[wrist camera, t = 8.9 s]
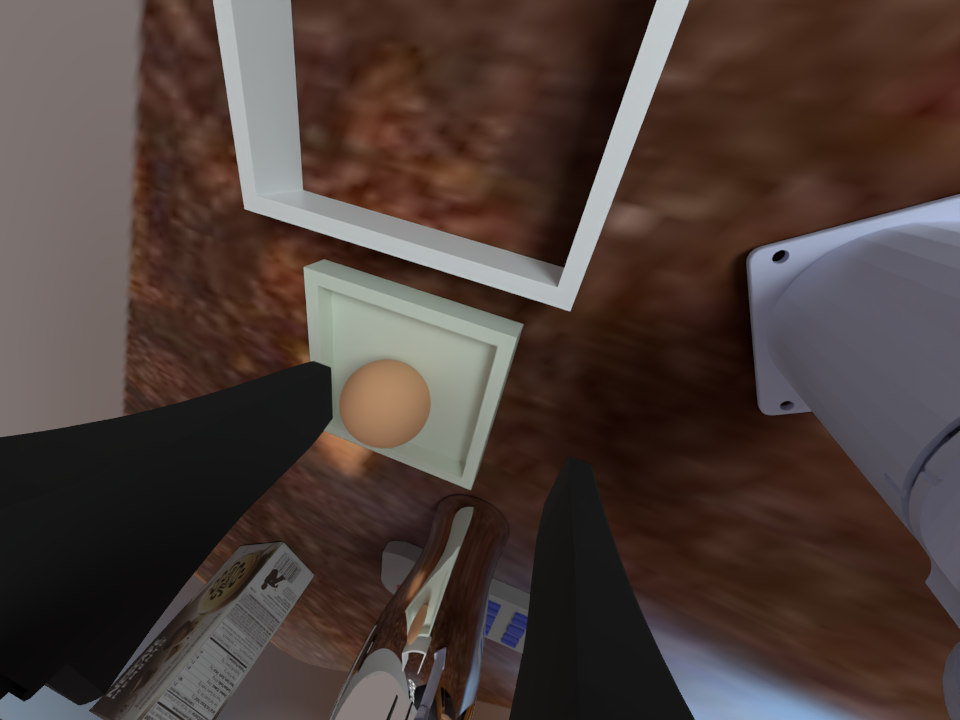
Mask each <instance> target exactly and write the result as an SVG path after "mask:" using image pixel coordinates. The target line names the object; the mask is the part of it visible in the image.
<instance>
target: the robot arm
mask: <svg viewBox="0 0 960 720" xmlns="http://www.w3.org/2000/svg"><path fill="white" fill-rule="evenodd" d="M780 250H784V251H785V255H784V257H783V258H782V259H781V260H778V261H773V260H772V257H773V255H774V254H775V253H776V252H778V251H780ZM746 268H747V280H748V293H749V305H750V318H751V330H752V342H753V355H754V367H755V379H756V392H757V404H758V407H759V409H760V410H761V412H763V413H764V414H766V415H782V414H792V413H802V412H813V413H814V415H815V416H816V417H817V418H818V419H819V421H820V422H821V423H822V424H823V426H824V427H825V428H826V429H827V430H828V432H829V433H830V434H831V435H832V437H833V438H834V439H835V440H836V441H837V443H838V444H839V445H840V446H841V448H842V449H843V450H844V451H845V453H846V454H847V455H848V456H849V457H850V459H851V460H852V461H853V462H854V464H855V465H856V466H857V467H858V468H859V470H860V471H861V472H862V473H863V475H864V476H865V477H866V478H867V480H868V481H869V482H870V483H871V484H872V486H873V487H874V488H875V489H876V491H877V492H878V493H879V494H880V495H881V497H882V498H883V499H884V500H885V502H886V503H887V504H888V505H889V506H890V508H891V509H892V510H893V511H894V513H895V514H896V515H897V516H898V518H899V519H900V520H901V521H902V522H903V524H904V525H905V526H906V527H907V529H908V530H909V531H910V532H911V533H912V535H913V536H914V537H915V538H916V539H917V540H918V541H919V543H920V544H921V545H922V547H923V548H924V550H925V551H926V553H927V554H928V556H929V557H930V559H931V564H932V568H931V573H930V575H929V577H928V578H927V580H926V584H927V586H928V587H929V588H930V590H931V591H932V592H933V594H934V595H935V596H936V597H937V599H938V600H939V601H940V603H941V604H942V605H943V607H944V608H945V609H946V611H947V612H948V613H949V615H950V616H951V617H952V619H953V620H954V621H955V623H956V624H957V625H958V627H959V628H960V194H958V195H954V196H950V197H946V198H942V199H939V200H935V201H931V202H927V203H924V204H920V205H916V206H912V207H908V208H905V209H901V210H897V211H893V212H889V213H886V214H882V215H878V216H874V217H870V218H867V219H863V220H859V221H855V222H852V223H848V224H844V225H840V226H836V227H833V228H829V229H825V230H821V231H817V232H814V233H810V234H806V235H802V236H798V237H795V238H791V239H787V240H783V241H780V242H776V243H772V244H768V245H764V246H761V247H758V248H756V249H754V250H753V251H752V252H750V254H749V255H748V257H747V260H746ZM785 401H790V403H788V404H787V405H780V404H781V403H783V402H785ZM332 419H333V406H332V375H331V367H329V366H326V365H323V364H321V363H318V362H315V361H311V362H307V363H304V364H301V365H297V366H294V367H291V368H288V369H285V370H282V371H279V372H276V373H273V374H270V375H267V376H264V377H261V378H258V379H255V380H252V381H249V382H246V383H243V384H240V385H237V386H234V387H231V388H228V389H224V390H221V391H218V392H214V393H211V394H208V395H204V396H201V397H197V398H194V399H191V400H187V401H184V402H180V403H177V404H173V405H169V406H165V407H161V408H157V409H153V410H149V411H144V412H140V413H136V414H131V415H127V416H123V417H118V418H113V419H108V420H102V421H97V422H92V423H87V424H81V425H75V426H70V427H65V428H59V429H54V430H47V431H42V432H34V433H28V434H21V435H14V436H7V437H0V699H2V697H4V696H5V695H6V694H7V693H8V692H10V693H11V694H13V695H14V696H16V697H18V698H19V699H21V700H23V701H26V700H28V699H30V698H31V697H32V696H33V695H34V694H35V693H36V692H37V691H38V690H39V689H41V688H42V687H43V686H44V685H45V686H47V687H49V688H50V689H52V690H54V691H55V692H57V693H59V694H61V695H62V696H64V697H66V698H67V699H69V700H71V701H72V702H74V703H76V704H77V705H83V704H87V703H89V702H91V701H94V700H96V699H98V698H100V697H102V696H103V695H105V694H106V692H107V691H108V690H109V688H110V687H111V685H112V684H113V682H114V680H115V679H116V678H117V676H118V675H119V673H120V672H121V671H122V669H123V668H124V666H125V665H126V664H127V662H128V661H129V659H130V658H131V657H132V655H133V654H134V652H135V651H136V649H137V648H138V647H139V645H140V644H141V642H142V641H143V640H144V638H145V637H146V635H147V634H148V633H149V631H150V630H151V628H152V627H153V626H154V624H155V623H156V621H157V620H158V619H159V618H160V617H161V615H162V614H163V613H164V611H165V610H166V609H167V607H168V606H169V605H170V603H171V602H172V601H173V599H174V598H175V597H176V595H177V594H178V593H179V591H180V590H181V589H182V587H183V586H184V585H185V583H186V582H187V581H188V580H189V579H190V577H191V576H192V575H193V574H194V572H195V571H196V570H197V569H198V567H199V566H200V565H201V564H202V563H203V561H204V560H205V559H206V558H207V556H208V555H209V554H210V553H211V551H212V550H213V549H214V548H215V547H216V545H217V544H218V543H219V542H220V541H221V539H222V538H223V537H224V536H225V535H226V534H227V532H228V531H229V530H230V529H231V528H232V526H233V525H234V524H235V523H236V522H237V521H238V519H239V518H240V517H241V516H242V515H243V514H244V513H245V512H246V511H247V510H248V509H249V508H250V507H251V506H252V505H253V504H254V503H255V502H256V501H257V500H258V499H259V498H260V497H261V496H262V495H263V494H264V493H265V492H266V491H267V490H268V489H269V488H270V487H271V486H272V485H273V484H274V483H275V482H276V481H277V480H278V479H279V478H280V477H281V476H282V475H283V474H284V473H285V472H286V471H287V470H288V469H289V468H290V467H291V466H292V465H293V464H294V463H295V462H296V461H297V460H298V459H299V458H300V457H301V456H302V455H303V454H304V453H305V452H306V451H307V450H308V449H309V448H310V447H311V446H312V445H313V443H314V442H315V441H316V440H317V438H318V437H319V436H320V435H321V433H322V432H323V431H324V429H325V428H326V427H327V425H328V424H329V423H330V421H331V420H332ZM943 688H944V697H945V704H946V707H947V710H948V713H949V716H950V719H951V720H960V641H959V642H958V643H957V644H956V645H955V646H954V648H953V649H952V651H951V652H950V654H949V655H948V657H947V659H946V663H945V669H944V674H943ZM0 720H2V719H0ZM509 720H695V719H694V717H693V715H692V713H691V712H690V710H689V708H688V706H687V704H686V702H685V701H684V699H683V697H682V695H681V693H680V691H679V689H678V687H677V685H676V683H675V681H674V679H673V677H672V675H671V673H670V671H669V669H668V667H667V665H666V663H665V661H664V659H663V657H662V655H661V653H660V651H659V649H658V646H657V644H656V642H655V640H654V638H653V636H652V633H651V631H650V629H649V627H648V625H647V623H646V620H645V618H644V616H643V613H642V611H641V609H640V607H639V604H638V602H637V599H636V597H635V595H634V592H633V590H632V587H631V585H630V582H629V580H628V577H627V575H626V572H625V569H624V567H623V564H622V561H621V559H620V556H619V553H618V550H617V547H616V544H615V542H614V539H613V536H612V533H611V530H610V527H609V524H608V521H607V518H606V515H605V511H604V508H603V504H602V501H601V498H600V494H599V491H598V487H597V483H596V479H595V475H594V471H593V468H592V466H591V464H588V463H585V462H583V461H580V460H577V459H575V458H572V457H569V456H568V457H567V459H566V461H565V463H564V465H563V467H562V469H561V471H560V473H559V475H558V477H557V479H556V481H555V483H554V485H553V487H552V489H551V491H550V493H549V495H548V497H547V499H546V501H545V504H544V508H543V513H542V517H541V521H540V526H539V530H538V535H537V540H536V548H535V557H534V565H533V574H532V583H531V592H530V601H529V610H528V618H527V627H526V634H525V641H524V648H523V654H522V659H521V664H520V669H519V674H518V679H517V684H516V689H515V694H514V699H513V704H512V708H511V713H510V718H509Z"/></svg>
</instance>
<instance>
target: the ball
mask: <svg viewBox="0 0 960 720" xmlns="http://www.w3.org/2000/svg"><path fill="white" fill-rule="evenodd" d="M339 405H340V415H341V418H342V421H343V424H344V425H345V427H346V429H347V430H348V432H349V433H350V434H351V435H352V436H353V437H354V438H355V439H357V440H358V441H359V442H361V443H363V444H365V445H367V446H370V447H375V448H393V447H397V446H400V445H402V444H405V443H406V442H408V441H410V440H411V439H413V438H414V437H415V436H416V435H417V434H418V433H419V432H420V431H421V430H422V428H423V427H424V425H425V423H426V421H427V419H428V416H429V413H430V407H431V398H430V392H429V389H428V386H427V384H426V382H425V380H424V379H423V377H422V376H421V375H420V374H419V373H418V372H417V371H416V370H415V369H414V368H412V367H411V366H409V365H407V364H405V363H403V362H400V361H396V360H388V359H385V360H377V361H373V362H370V363H367V364H365V365H364V366H362V367H360V368H359V369H358V370H356V371H355V372H354V373H353V374H352V375H351V376H350V377H349V379H348V380H347V381H346V383H345V385H344V387H343V389H342V392H341V396H340V402H339Z"/></svg>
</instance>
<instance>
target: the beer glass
mask: <svg viewBox="0 0 960 720" xmlns="http://www.w3.org/2000/svg"><path fill="white" fill-rule="evenodd" d="M508 538H509V526H508V524H507V521H506V520H505V518H504V517H503V515H502V514H501V513H500V512H499V511H498V510H497V509H496V508H494V507H493V506H492V505H490V504H488V503H487V502H485V501H483V500H481V499H478V498H475V497H471V496H466V495H453V496H449V497H446V498H444V499H443V500H442V501H441V502H440V503H439V504H438V506H437V508H436V511H435V514H434V518H433V522H432V525H431V529H430V533H429V536H428V539H427V541H426V544H425V546H424V548H423V550H422V552H421V554H420V556H419V558H418V559H417V561H416V563H415V564H414V566H413V567H412V569H411V570H410V572H409V573H408V575H407V576H406V578H405V579H404V581H403V582H402V584H401V585H400V586H399V588H398V589H397V591H396V592H395V594H394V595H393V597H392V598H391V600H390V601H389V603H388V604H387V606H386V607H385V609H384V610H383V612H382V613H381V615H380V617H379V618H378V620H377V622H376V623H375V625H374V626H373V628H372V630H371V631H370V633H369V635H368V636H367V638H366V640H365V642H364V644H363V646H362V648H361V650H360V652H359V654H358V656H357V657H356V659H355V661H354V663H353V665H352V668H351V670H350V672H349V674H348V676H347V678H346V680H345V683H344V685H343V687H342V689H341V691H340V694H339V696H338V698H337V701H336V703H335V705H334V708H333V710H332V712H331V715H330V717H329V719H328V720H472V716H473V712H474V707H475V702H476V698H477V693H478V688H479V681H480V674H481V667H482V659H483V650H484V640H485V630H486V619H487V609H488V600H489V592H490V587H491V582H492V577H493V574H494V571H495V568H496V565H497V563H498V560H499V558H500V556H501V554H502V552H503V550H504V548H505V545H506V543H507V541H508Z"/></svg>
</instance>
